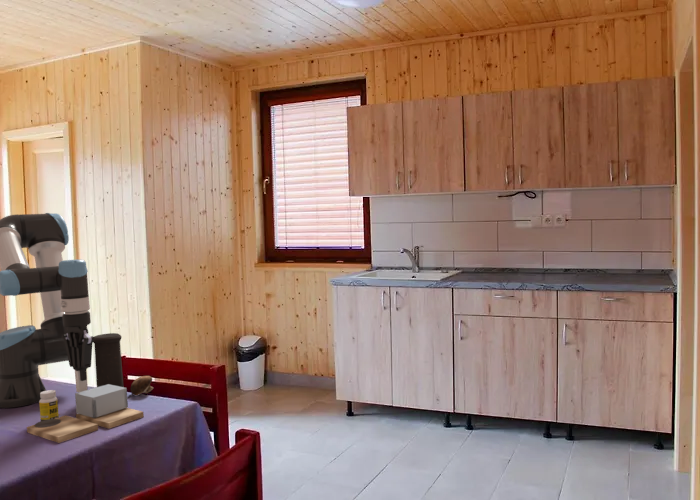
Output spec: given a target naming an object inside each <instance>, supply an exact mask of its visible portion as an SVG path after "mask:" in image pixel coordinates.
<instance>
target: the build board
mask: <svg viewBox="0 0 700 500" xmlns="http://www.w3.org/2000/svg"><path fill="white" fill-rule="evenodd" d="M98 430H99V426H98V424H95V423H91V422H88V421H84V420H80V419H77V418H76V417H73V416H69V415H62V416H59V417H58V418H55V419H48V420H44V421H41V420H40V421H38V422H36V423H34V424H33V425H29V426H26V432H27V433H28V434H30V435H33V436H37V437H39V438H43V439H45V440H49V441H52V442H55V443H58V444H60V443H63V442H66V441H69V440H72V439H76V438H78V437H81V436H84V435H87V434H90V433H92V432H93V433H94V432H95V431H96V432H97V431H98Z"/></svg>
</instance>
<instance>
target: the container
mask: <svg viewBox="0 0 700 500" xmlns="http://www.w3.org/2000/svg"><path fill="white" fill-rule="evenodd" d="M93 337H94V341H93V345H94V358H95V359H94V360H95V361H94V362H95V376H96V377H95V378H96V388H97V387H100V386H104V385H107V384H110V385H115V386H120V387H124V377H123V376H124V375H123V366H122V364H123V363H122V352H121V351H122V350H121V341H122V335H121V334H119V333H114V332H113V333H112V332H110V333H104V334H103V333H102V334H97V335H93ZM124 388H125V387H124Z"/></svg>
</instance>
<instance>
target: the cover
mask: <svg viewBox="0 0 700 500" xmlns="http://www.w3.org/2000/svg"><path fill="white" fill-rule="evenodd" d="M127 390H128V389H127V387H120V386H115V385H110V384H107V385H104V386H100V387H97V386H96V387H93V388H90V389H89V388H88V390H86V391H82V392H76V393H74V395H75V396H74V397H75V410H76V414H82V415H85V416H89V417H93V418H96V417H99V416H102V415H105V414H109V413H112V412H115V411H118V410H121V409H124V408H129V403H128V391H127Z"/></svg>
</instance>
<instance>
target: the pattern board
mask: <svg viewBox="0 0 700 500" xmlns="http://www.w3.org/2000/svg"><path fill="white" fill-rule="evenodd" d="M144 413H145V412H144V410H143V411H141V410H137V409H134V408H129V407H127V408H124V409H121V410H118V411H115V412H112V413H109V414H105V415H102V416H99V417H96V418H93V417H89V416H85V415H82V414H78V413H76V414H75V418H77V419H80V420H84V421H88V422H91V423H95V424H98V427H102V428H105V429H109V430H110V429H112V428H116V427H117V426H118V427H119V426H122V425H123V424H126V423H130V422H133V421H136V420H139V419H141V418H144Z"/></svg>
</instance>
